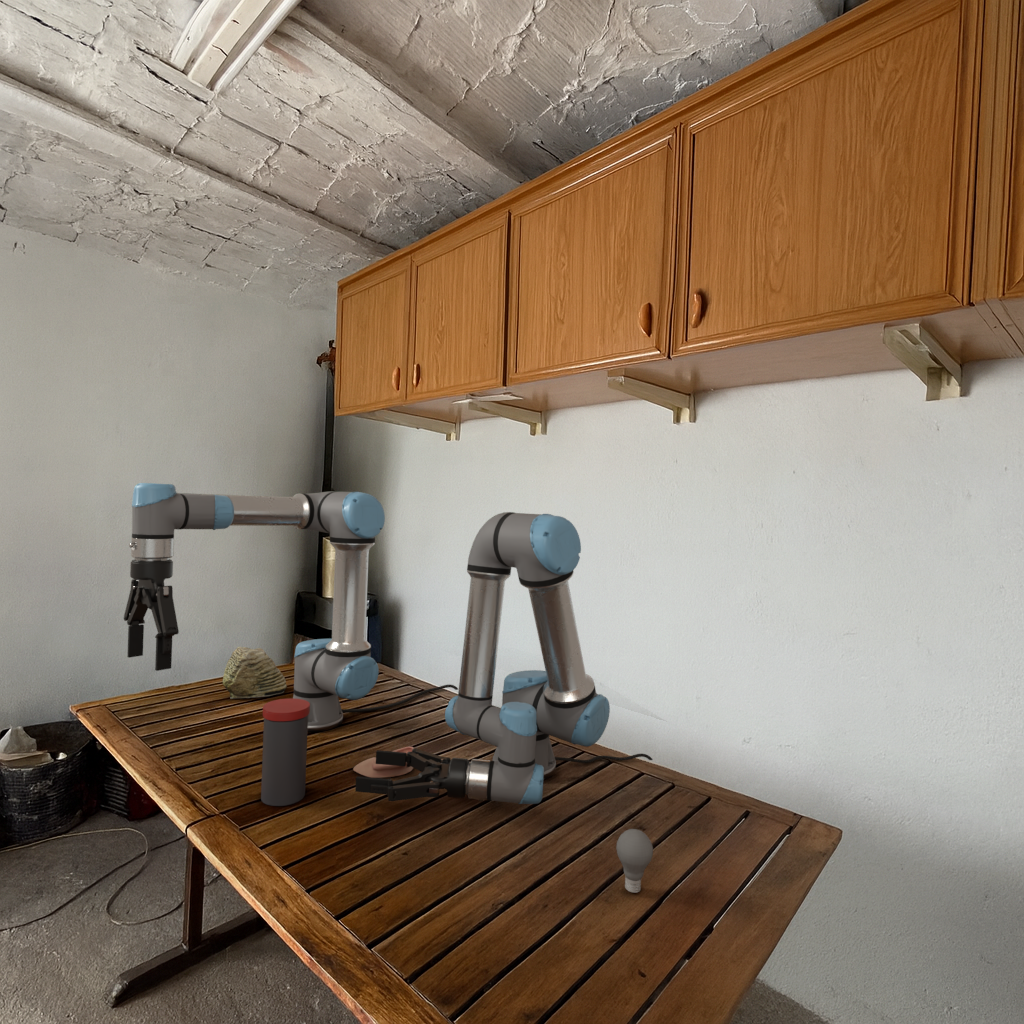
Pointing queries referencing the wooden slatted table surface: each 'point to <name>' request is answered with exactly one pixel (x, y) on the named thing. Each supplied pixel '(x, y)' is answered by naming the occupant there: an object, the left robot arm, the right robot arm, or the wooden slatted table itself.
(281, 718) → the lid
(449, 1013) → the wooden slatted table surface
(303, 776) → the jar
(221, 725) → the wooden slatted table surface
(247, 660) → the fossil
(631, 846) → the light bulb
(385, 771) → the anatomical model
